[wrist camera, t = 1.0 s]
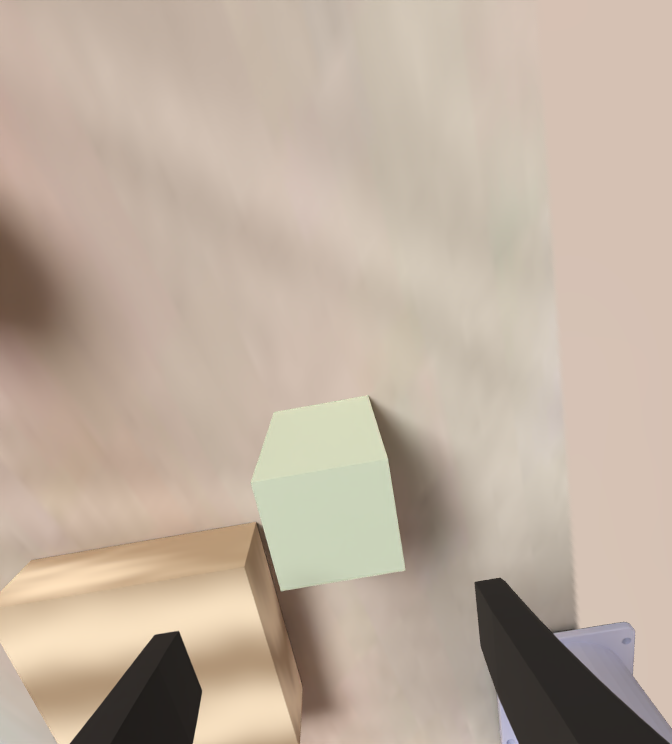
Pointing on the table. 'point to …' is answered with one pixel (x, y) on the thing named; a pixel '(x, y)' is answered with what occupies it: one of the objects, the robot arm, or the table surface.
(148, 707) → the robot arm
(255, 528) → the birch plinth
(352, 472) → the sage block
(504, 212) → the table surface
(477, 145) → the table surface
